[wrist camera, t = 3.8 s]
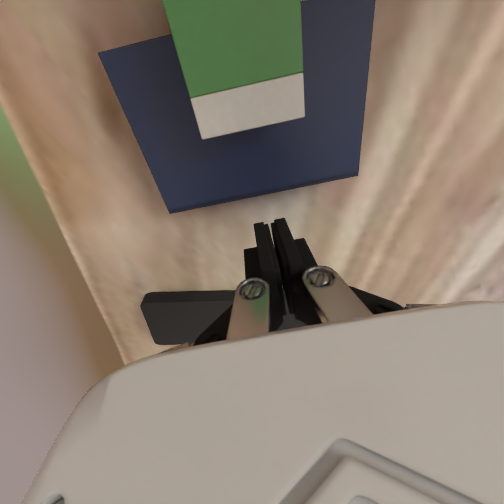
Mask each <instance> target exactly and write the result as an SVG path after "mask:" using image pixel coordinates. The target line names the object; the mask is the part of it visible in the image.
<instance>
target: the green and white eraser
mask: <svg viewBox="0 0 504 504" xmlns="http://www.w3.org/2000/svg"><path fill="white" fill-rule="evenodd" d="M162 3H163V6H164V10H165V13H166V17H167V20H168V23H169V27H170V30H171V34H172V37H173V41H174V44H175V48H176V51H177V55H178V58H179V62H180V65H181V68H182V72H183V75H184V79H185V82H186V86H187V89H188V93H189V96H190V98H191V103H192V107H193V110H194V114H195V117H196V120H197V124H198V127H199V131H200V134H201V138H202V139H208V138H212V137H217V136H222V135H226V134H231V133H235V132H240V131H244V130H249V129H253V128H258V127H262V126H267V125H271V124H276V123H280V122H285V121H289V120H294V119H298V118H303V117H305V107H304V80H303V73H302V72H303V53H302V26H301V0H162Z"/></svg>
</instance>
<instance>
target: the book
mask: <svg viewBox="0 0 504 504" xmlns="http://www.w3.org/2000/svg"><path fill="white" fill-rule="evenodd" d="M374 10H375V0H306V1H302V2H301V26H302V53H303V72H302V73H303V80H304V107H305V117H303V118H298V119H294V120H289V121H285V122H280V123H276V124H271V125H267V126H262V127H258V128H253V129H249V130H244V131H240V132H235V133H231V134H226V135H222V136H217V137H212V138H208V139H202V138H201V134H200V131H199V127H198V124H197V120H196V117H195V114H194V110H193V107H192V103H191V98H190V96H189V93H188V89H187V86H186V82H185V79H184V75H183V72H182V68H181V65H180V62H179V58H178V55H177V51H176V48H175V44H174V41H173V37H172V34H171V35H167V36H163V37H159V38H155V39H151V40H147V41H143V42H139V43H135V44H131V45H127V46H123V47H119V48H115V49H111V50H107V51H103V52H99V53H98V55H99V57H100V59H101V61H102V64H103V66H104V68H105V70H106V73H107V75H108V77H109V79H110V81H111V84H112V86H113V88H114V90H115V93H116V95H117V97H118V99H119V102H120V104H121V106H122V108H123V110H124V113H125V115H126V117H127V119H128V122H129V124H130V126H131V128H132V131H133V133H134V135H135V137H136V139H137V142H138V144H139V146H140V148H141V151H142V153H143V155H144V157H145V160H146V162H147V164H148V166H149V168H150V171H151V173H152V175H153V177H154V180H155V182H156V184H157V186H158V189H159V191H160V193H161V195H162V198H163V200H164V202H165V204H166V206H167V209H168V211H169V213H170V214H172V213H176V212H181V211H186V210H191V209H196V208H201V207H206V206H211V205H216V204H221V203H226V202H231V201H235V200H240V199H245V198H250V197H255V196H260V195H265V194H270V193H275V192H280V191H285V190H290V189H294V188H299V187H304V186H309V185H314V184H319V183H324V182H329V181H334V180H339V179H344V178H349V177H353V176H358V171H359V161H360V151H361V141H362V131H363V121H364V111H365V101H366V90H367V80H368V70H369V60H370V50H371V40H372V30H373V20H374Z"/></svg>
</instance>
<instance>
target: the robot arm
mask: <svg viewBox="0 0 504 504" xmlns="http://www.w3.org/2000/svg"><path fill="white" fill-rule="evenodd" d="M271 228H272V235H273V241H274V245H273V241H272V238H271V234H270V230H269V226H268V224H264V222H261V223H255V224H254V230H255V236H256V243H257V247H254V248H249V249H244V261H245V277H246V280H244V281H243V282H241V283H240V284H239V285H238V286H237V288H236V291H235V297H234V302H233V304H232V305H231V306H230V307H229V308H228V309H227V310H226V311H224V312H223V313H222V314H221V315H220V316H219V317H218V318H217V319H216V320H215V321H214V322H213V323H212V324H211V325H210V326H209V327H208V328H207V329H206V330H205V331H203V332H202V333H201V334H200V335H199V337H198V338H197V339H196V340H195V342H194V343H191V344H190V343H189V342H186V343H184V344H181V345H178V346H176V347H173V348H171V349H168V350H166V351H163V352H160V353H158V354H155V355H152V356H148V357H145V358H142V359H140V360H137V361H135V362H132V363H130V364H127V365H125V366H124V367H122V368H120V369H118V370H116V371H114V372H112V373H111V374H109V375H107V376H106V377H104V378H103V379H101V380H100V381H99V382H97V383H96V384H95V385H94V386H93V387H92V388H91V389H89V391H88V392H87V393H86V394H85V395H84V396H83V397H82V399H81V400H80V402H79V403H78V404H77V406H76V407H75V409H74V410H73V412H72V413H71V415H70V417H69V418H68V420H67V422H66V423H65V425H64V426H63V428H62V430H61V431H60V433H59V435H58V436H57V438H56V440H55V442H54V443H53V445H52V447H51V449H50V450H49V452H48V454H47V456H46V458H45V460H44V462H43V463H42V465H41V467H40V469H39V471H38V473H37V475H36V477H35V478H34V480H33V482H32V484H31V486H30V488H29V490H28V492H27V493H26V495H25V497H24V499H23V501H22V503H21V504H504V301H468V302H457V303H448V304H406V307H402V306H400V305H399V304H397V303H395V302H393V301H390V300H387V299H384V298H381V297H379V296H376V295H373V294H370V293H367V292H365V291H362V290H359V289H356V288H354V287H351V286H348V285H347V284H346V283H345V282H344V280H343V279H342V278H341V277H340V276H339V275H338V273H337V272H336V271H334V270H333V269H331V268H329V267H326V266H318V265H317V263H316V261H315V259H314V257H313V255H312V253H311V251H310V249H309V247H308V245H307V243H306V241H305V239H304V238H301V239H296V240H294V239H293V237H292V234H291V232H290V230H289V227H288V225H287V223H286V220H285V218H281V219H276V220H274V223H271ZM274 248H275V249H274ZM282 286H283V287H282ZM283 290H284V294H285V297H286V301H287V305H288V309H289V313H290V315H291V314H294V316H295V319H296V321H297V320H300V321H301V322H303V323H305V324H306V326H304V327H298V328H292V329H286V330H280V331H278V329H279V327H280V326H281V325H282V324H283V322H284V320H283V316H285V315H286V308H285V301H284V294H283Z"/></svg>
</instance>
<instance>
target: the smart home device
mask: <svg viewBox="0 0 504 504" xmlns="http://www.w3.org/2000/svg"><path fill="white" fill-rule="evenodd" d="M235 291H236V290H235ZM235 291H197V292H159V293H148V294H146V295H145V297H144V299H143V301H142V303H141V306H140V307H141V310H142V312H143V315H144V317H145V320H146V322H147V325H148V327H149V330H150V332H151V335H152V337H153V340H154V342H155V343H156V344H158V345H175V344H184V343H186V342H189V343H190V344H191V343H194V342H195V340H196V339H197V338H198V337H199V335H200V334H201V333H202V332H203V331H205V330H206V329H207V328H208V327H209V326H210V325H211V324H212V323H213V322H214V321H215V320H216V319H217V318H218V317H219V316H220V315H221V314H222V313H223V312H224V311H226V310H227V309H228V308H229V307H230V306H231V305H232V304H233V302H234V297H235ZM283 294H284V290H283ZM284 301H285V308H286V315H285V316H283V320H284V322H283V324H282V325H281V326H280V327H279V329H278V331H280V330H286V329H292V328H298V327H304V326H306V324H305V323H303V322H301V321H300V320H297V321H296V319H295V316H294V314H291V315H290V313H289V309H288V305H287V301H286V297H285V294H284Z"/></svg>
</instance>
